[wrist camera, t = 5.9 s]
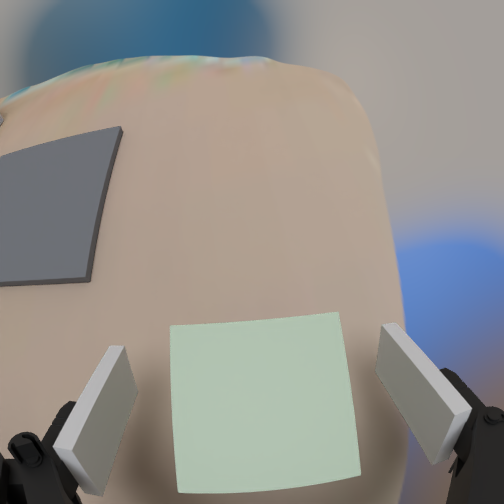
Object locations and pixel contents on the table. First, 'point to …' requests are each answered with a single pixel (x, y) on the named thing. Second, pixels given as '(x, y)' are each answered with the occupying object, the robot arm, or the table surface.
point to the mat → (54, 208)
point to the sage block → (261, 405)
